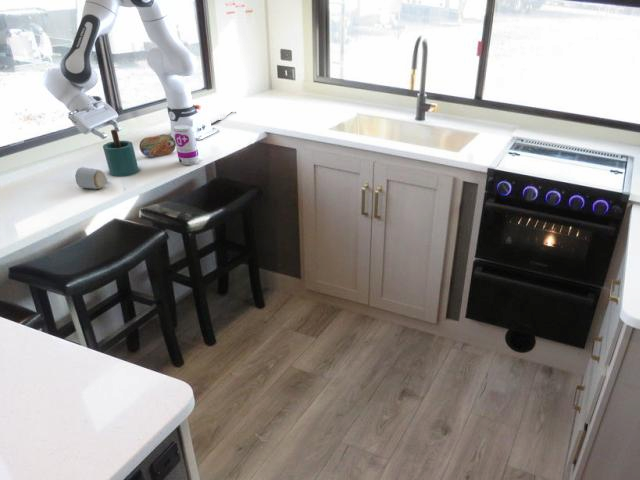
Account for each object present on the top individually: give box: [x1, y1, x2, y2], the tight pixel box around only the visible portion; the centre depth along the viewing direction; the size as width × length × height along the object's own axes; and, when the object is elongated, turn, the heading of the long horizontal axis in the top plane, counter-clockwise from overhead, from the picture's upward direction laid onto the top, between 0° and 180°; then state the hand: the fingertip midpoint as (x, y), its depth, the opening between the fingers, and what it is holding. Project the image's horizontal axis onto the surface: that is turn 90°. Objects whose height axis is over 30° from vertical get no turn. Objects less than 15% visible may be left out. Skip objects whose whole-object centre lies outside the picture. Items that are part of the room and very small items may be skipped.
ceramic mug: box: [75, 166, 109, 190], centre depth 218 cm, size 11×8×8 cm
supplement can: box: [173, 124, 200, 166], centre depth 240 cm, size 8×8×15 cm
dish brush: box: [110, 129, 121, 148], centre depth 229 cm, size 5×5×16 cm
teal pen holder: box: [102, 140, 139, 177], centre depth 231 cm, size 11×11×11 cm
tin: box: [138, 133, 176, 159], centre depth 249 cm, size 15×3×8 cm, turn 131°
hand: (112, 134), depth 226 cm, fingers open, 8 cm apart
